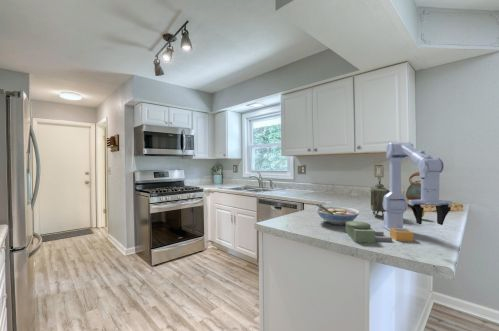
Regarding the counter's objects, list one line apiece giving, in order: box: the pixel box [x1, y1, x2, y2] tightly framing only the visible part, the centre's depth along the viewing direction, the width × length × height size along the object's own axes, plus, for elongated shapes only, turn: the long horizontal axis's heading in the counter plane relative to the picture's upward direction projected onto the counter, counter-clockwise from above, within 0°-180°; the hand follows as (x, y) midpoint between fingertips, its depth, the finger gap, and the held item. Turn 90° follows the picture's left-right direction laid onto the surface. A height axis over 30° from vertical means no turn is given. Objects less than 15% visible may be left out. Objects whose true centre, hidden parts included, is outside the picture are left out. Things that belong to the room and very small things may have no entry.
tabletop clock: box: [370, 176, 390, 218], centre depth 151 cm, size 14×9×25 cm, turn 159°
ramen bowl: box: [315, 204, 360, 226], centre depth 134 cm, size 25×23×8 cm
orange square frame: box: [389, 228, 414, 242], centre depth 108 cm, size 6×7×4 cm
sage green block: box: [345, 220, 393, 244], centre depth 110 cm, size 15×18×6 cm
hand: (429, 223), depth 94 cm, fingers open, 7 cm apart
